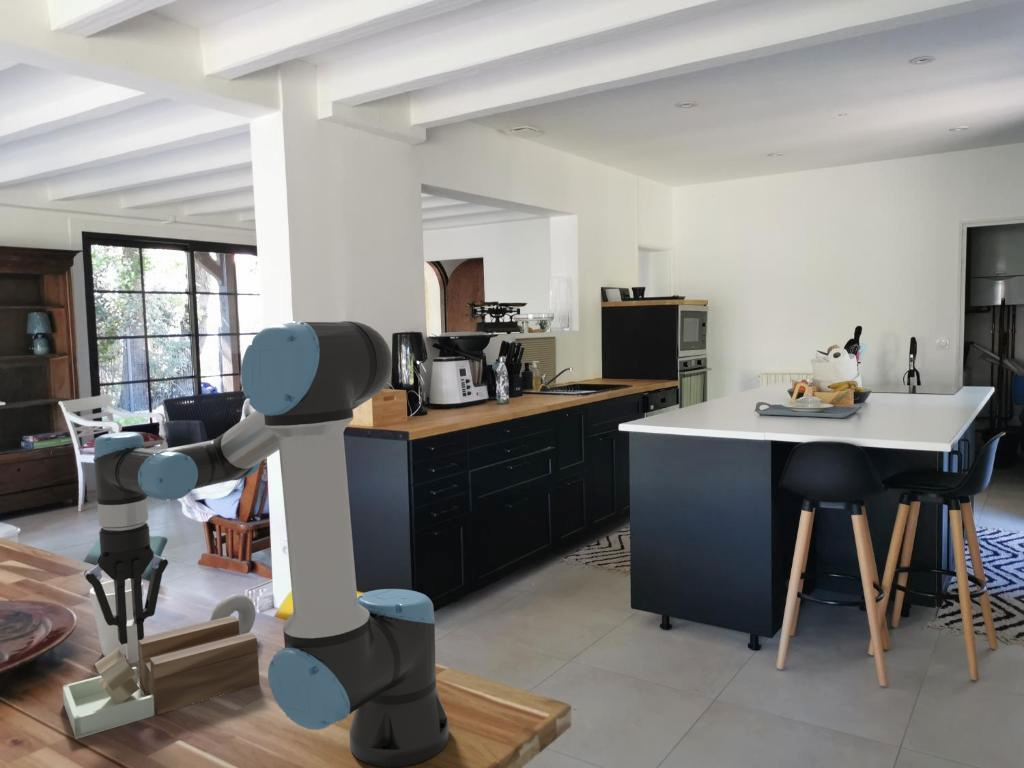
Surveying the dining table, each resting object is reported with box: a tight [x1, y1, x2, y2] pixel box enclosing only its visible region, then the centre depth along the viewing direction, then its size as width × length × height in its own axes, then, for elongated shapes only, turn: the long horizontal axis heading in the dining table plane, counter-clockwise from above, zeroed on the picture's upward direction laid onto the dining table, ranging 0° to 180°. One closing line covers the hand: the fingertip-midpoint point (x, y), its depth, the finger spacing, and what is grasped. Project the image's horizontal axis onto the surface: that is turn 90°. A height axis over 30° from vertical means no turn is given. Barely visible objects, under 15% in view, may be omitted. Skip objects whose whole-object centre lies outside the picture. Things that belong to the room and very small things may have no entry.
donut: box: [209, 593, 256, 635], centre depth 156 cm, size 10×4×10 cm, turn 146°
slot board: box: [137, 614, 260, 715], centre depth 139 cm, size 14×17×8 cm
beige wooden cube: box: [94, 648, 135, 691], centre depth 130 cm, size 4×4×4 cm
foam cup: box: [89, 579, 145, 657], centre depth 154 cm, size 10×9×13 cm
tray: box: [62, 666, 155, 740], centre depth 131 cm, size 14×12×3 cm
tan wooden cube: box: [99, 678, 141, 705], centre depth 133 cm, size 4×4×4 cm
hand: (132, 659), depth 133 cm, fingers closed
